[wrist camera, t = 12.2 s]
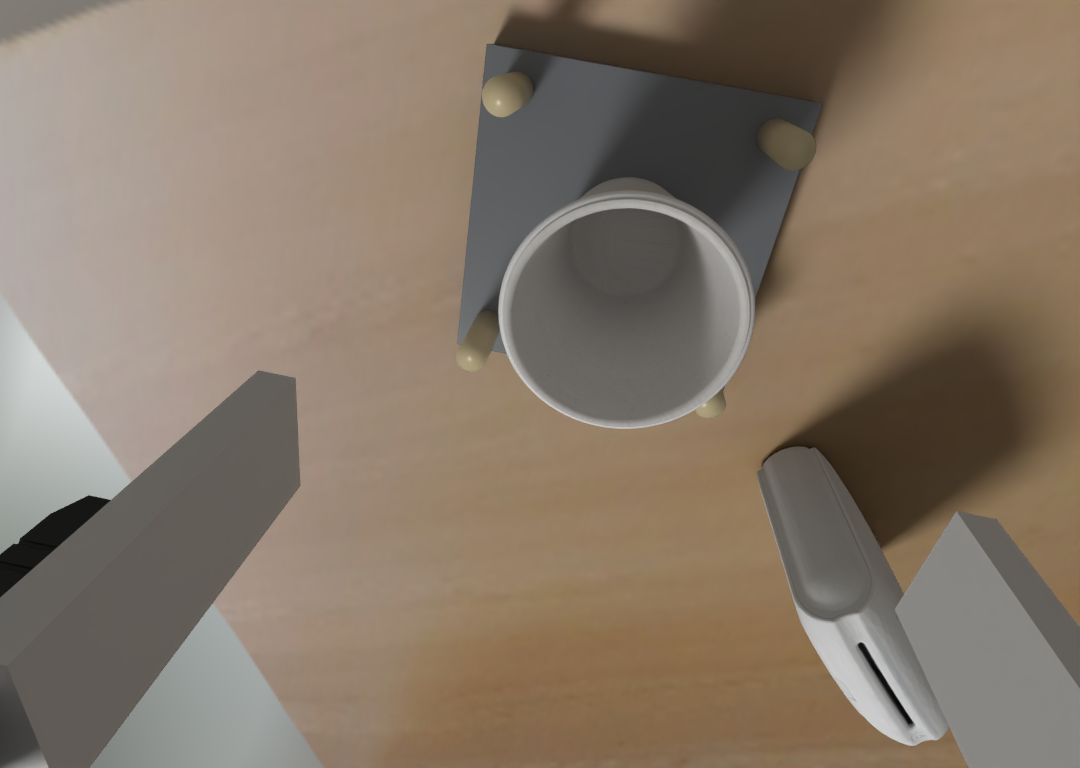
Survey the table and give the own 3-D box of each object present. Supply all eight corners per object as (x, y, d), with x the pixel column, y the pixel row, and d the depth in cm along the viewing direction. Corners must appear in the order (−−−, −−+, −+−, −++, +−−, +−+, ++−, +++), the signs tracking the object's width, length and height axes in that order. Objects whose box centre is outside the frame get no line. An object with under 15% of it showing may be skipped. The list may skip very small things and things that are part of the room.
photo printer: (888, 555, 38) (991, 759, 27) (818, 579, 39) (889, 781, 29) (816, 430, 34) (902, 607, 24) (743, 462, 36) (792, 642, 25)
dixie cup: (542, 137, 28) (501, 180, 19) (735, 153, 27) (786, 205, 18) (531, 313, 32) (493, 416, 23) (699, 331, 31) (726, 445, 22)
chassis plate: (813, 101, 27) (853, 114, 22) (717, 382, 34) (732, 438, 29) (493, 43, 27) (464, 44, 23) (463, 332, 34) (436, 379, 29)
